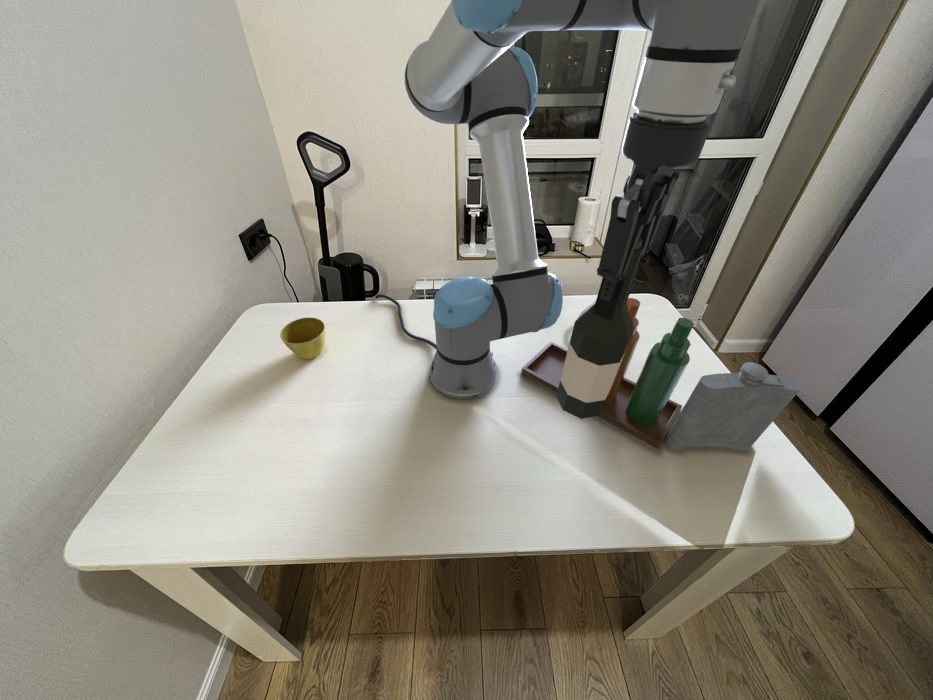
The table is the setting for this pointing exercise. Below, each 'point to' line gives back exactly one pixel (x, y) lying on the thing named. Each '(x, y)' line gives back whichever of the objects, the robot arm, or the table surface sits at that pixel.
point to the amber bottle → (632, 310)
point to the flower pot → (304, 337)
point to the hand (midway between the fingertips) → (609, 309)
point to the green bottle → (660, 375)
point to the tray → (549, 372)
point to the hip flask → (732, 408)
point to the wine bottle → (596, 353)
